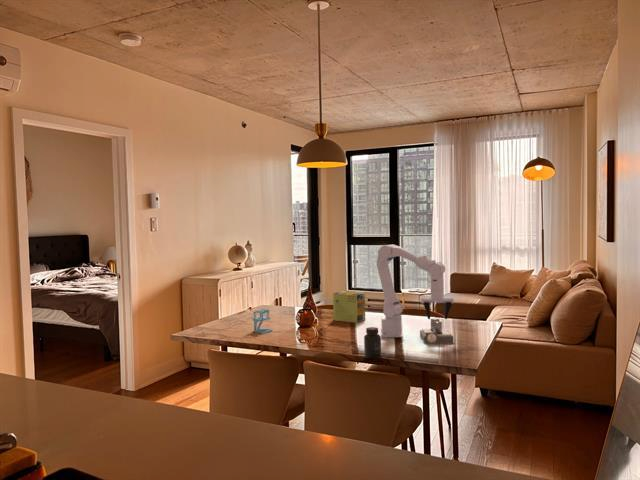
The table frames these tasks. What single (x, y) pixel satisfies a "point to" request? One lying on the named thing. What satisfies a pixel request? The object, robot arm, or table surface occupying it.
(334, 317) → the protein box
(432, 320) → the cylinder
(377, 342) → the supplement bottle
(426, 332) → the scale
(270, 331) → the teal open frame stand
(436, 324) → the cylinder
